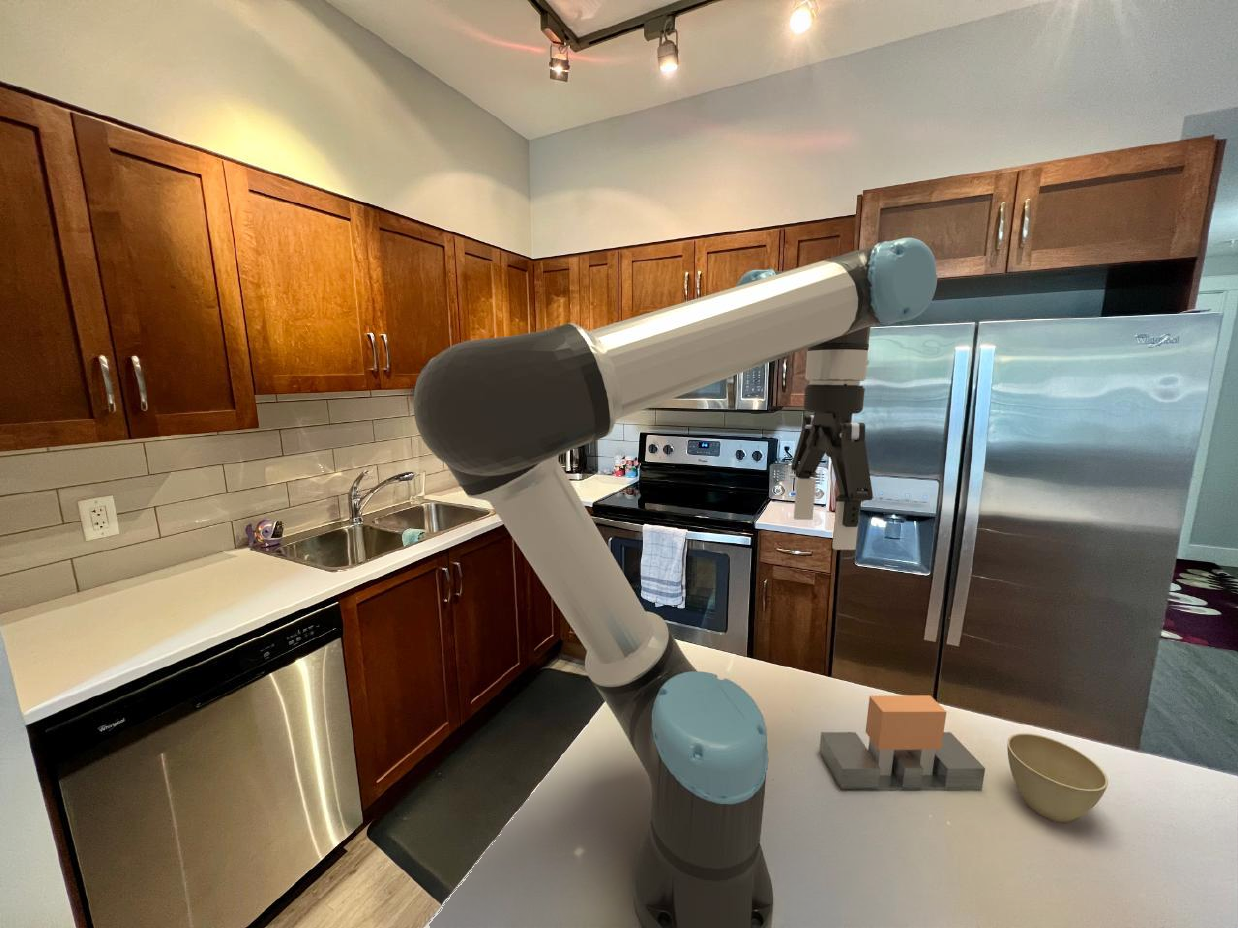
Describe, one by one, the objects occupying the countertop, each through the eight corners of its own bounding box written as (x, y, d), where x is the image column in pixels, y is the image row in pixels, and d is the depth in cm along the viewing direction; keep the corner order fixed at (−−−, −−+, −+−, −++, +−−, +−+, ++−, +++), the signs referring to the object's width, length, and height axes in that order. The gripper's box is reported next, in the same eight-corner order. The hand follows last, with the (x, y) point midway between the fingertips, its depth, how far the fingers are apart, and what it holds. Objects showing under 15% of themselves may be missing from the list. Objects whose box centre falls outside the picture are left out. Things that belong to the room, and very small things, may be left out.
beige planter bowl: (1119, 847, 60) (1130, 797, 58) (1026, 831, 62) (1035, 782, 60) (1064, 782, 69) (1072, 738, 68) (985, 770, 71) (992, 727, 70)
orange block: (875, 777, 69) (882, 711, 67) (862, 758, 73) (869, 695, 71) (937, 776, 69) (946, 711, 68) (921, 758, 73) (930, 695, 71)
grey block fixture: (840, 790, 68) (842, 768, 67) (819, 752, 74) (821, 732, 74) (981, 790, 68) (985, 768, 67) (947, 752, 75) (950, 732, 74)
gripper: (918, 384, 54) (897, 565, 58) (822, 382, 78) (811, 509, 82) (852, 384, 54) (835, 565, 57) (776, 382, 78) (768, 509, 82)
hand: (821, 532), depth 70 cm, fingers open, 13 cm apart
